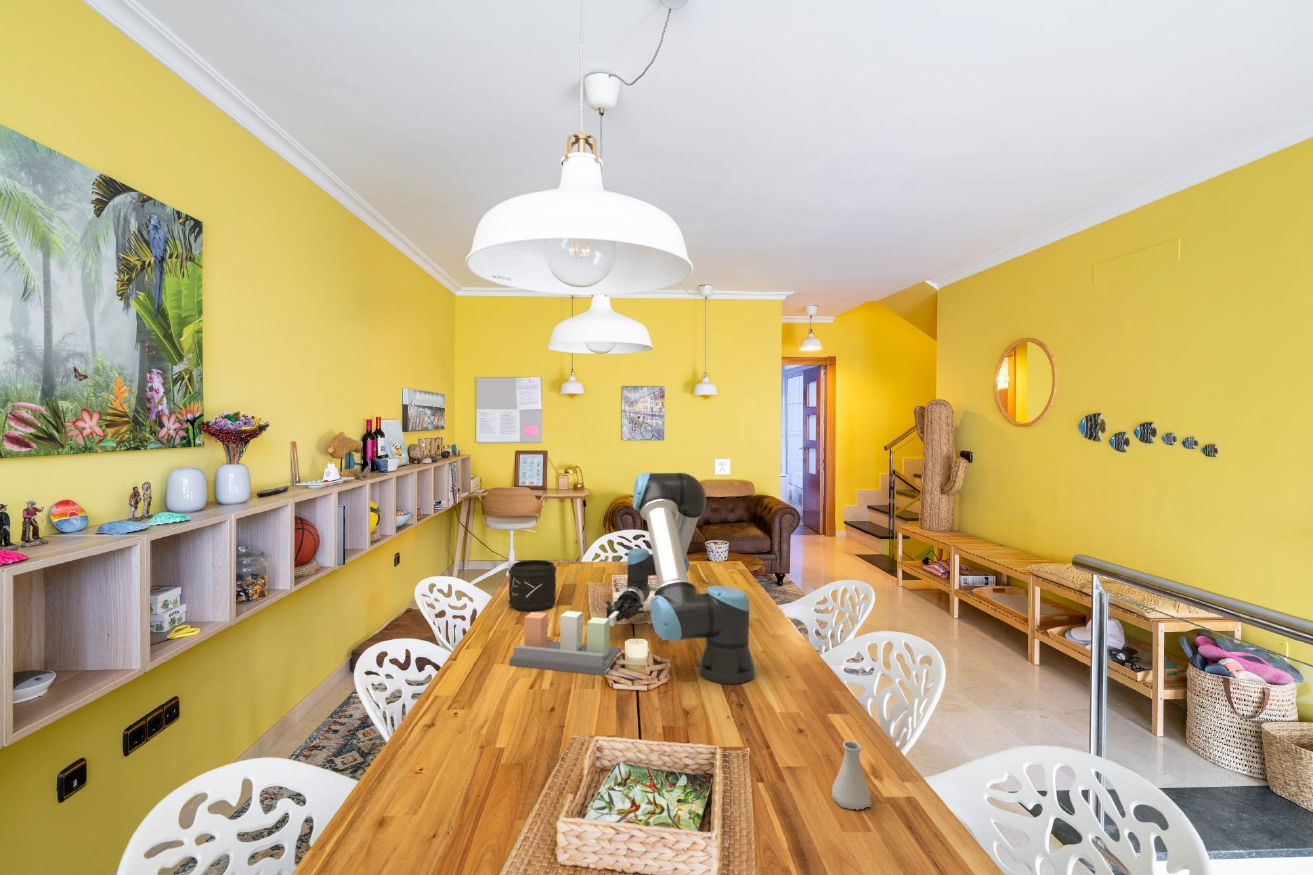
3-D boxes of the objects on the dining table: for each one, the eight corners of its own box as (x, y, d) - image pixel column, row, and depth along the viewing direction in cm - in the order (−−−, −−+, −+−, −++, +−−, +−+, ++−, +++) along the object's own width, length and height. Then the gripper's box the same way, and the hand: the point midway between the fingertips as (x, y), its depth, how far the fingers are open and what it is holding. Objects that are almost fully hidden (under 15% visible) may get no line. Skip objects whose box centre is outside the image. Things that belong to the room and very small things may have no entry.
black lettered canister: (498, 605, 229) (498, 563, 229) (539, 596, 241) (540, 557, 241) (522, 616, 216) (522, 572, 216) (565, 607, 228) (565, 565, 227)
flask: (863, 787, 114) (864, 734, 114) (878, 811, 107) (879, 755, 107) (825, 787, 114) (826, 734, 114) (838, 811, 107) (838, 755, 107)
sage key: (608, 653, 175) (609, 618, 175) (603, 659, 170) (604, 623, 170) (592, 651, 176) (592, 617, 176) (586, 657, 171) (587, 622, 171)
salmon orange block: (547, 647, 179) (547, 613, 179) (540, 653, 174) (540, 618, 174) (531, 645, 180) (531, 611, 180) (524, 651, 175) (524, 616, 175)
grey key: (582, 645, 181) (582, 612, 181) (576, 651, 176) (576, 617, 176) (566, 644, 182) (566, 610, 182) (560, 649, 177) (560, 615, 177)
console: (621, 654, 180) (621, 637, 180) (604, 675, 165) (605, 657, 165) (533, 645, 186) (533, 629, 186) (509, 665, 171) (509, 647, 171)
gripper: (648, 613, 207) (631, 635, 184) (612, 610, 210) (590, 632, 187) (649, 591, 207) (631, 611, 184) (612, 588, 210) (590, 607, 187)
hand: (610, 621), depth 185 cm, fingers closed
